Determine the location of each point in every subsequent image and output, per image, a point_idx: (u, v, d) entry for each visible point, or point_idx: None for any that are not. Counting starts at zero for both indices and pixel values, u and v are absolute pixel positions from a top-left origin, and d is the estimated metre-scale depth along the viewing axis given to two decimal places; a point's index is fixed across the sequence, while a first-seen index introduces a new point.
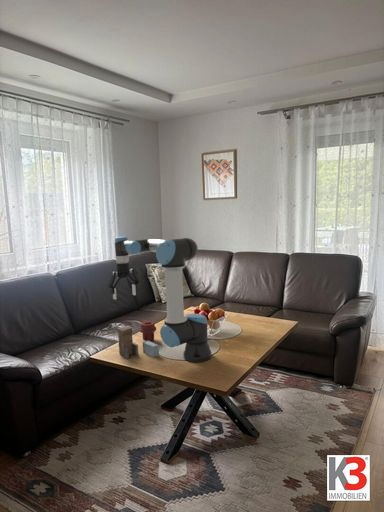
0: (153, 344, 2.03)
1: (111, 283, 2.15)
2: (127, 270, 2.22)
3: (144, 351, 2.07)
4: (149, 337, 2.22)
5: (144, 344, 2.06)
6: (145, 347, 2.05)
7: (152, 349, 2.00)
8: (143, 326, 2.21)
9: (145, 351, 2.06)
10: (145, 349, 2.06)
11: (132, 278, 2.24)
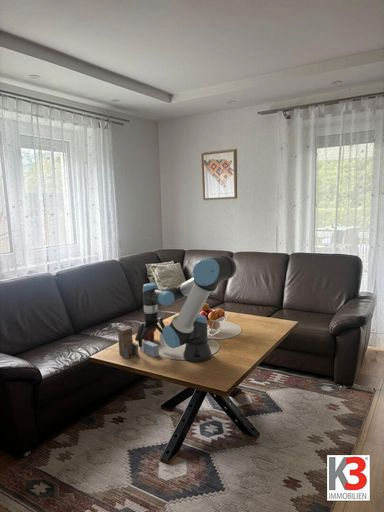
0: (153, 344, 2.03)
1: (139, 336, 1.95)
2: (155, 320, 2.02)
3: (144, 351, 2.07)
4: (149, 337, 2.22)
5: (144, 344, 2.06)
6: (145, 347, 2.05)
7: (152, 349, 2.00)
8: None
9: (145, 351, 2.06)
10: (145, 349, 2.06)
11: (160, 328, 2.05)
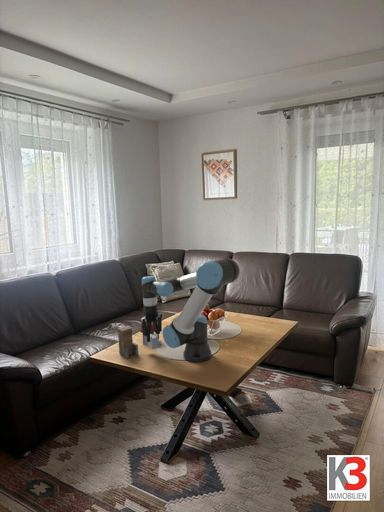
0: (153, 336, 2.02)
1: (145, 331, 1.97)
2: (156, 312, 2.01)
3: (144, 343, 2.06)
4: None
5: (144, 336, 2.05)
6: (145, 339, 2.05)
7: (152, 341, 1.99)
8: None
9: (145, 343, 2.05)
10: (145, 341, 2.05)
11: (157, 325, 2.02)
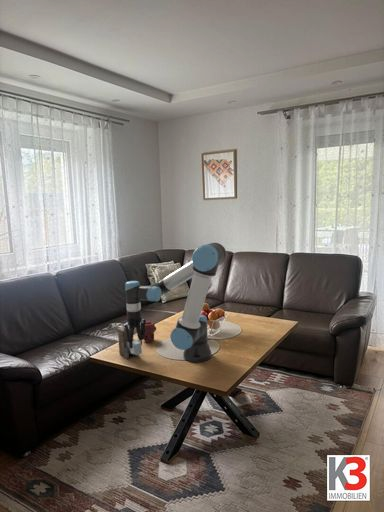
0: (136, 342, 1.98)
1: (127, 337, 1.93)
2: (139, 318, 1.97)
3: None
4: (149, 337, 2.22)
5: None
6: (128, 345, 2.01)
7: (135, 347, 1.95)
8: None
9: (128, 349, 2.01)
10: (128, 347, 2.01)
11: (140, 331, 1.98)
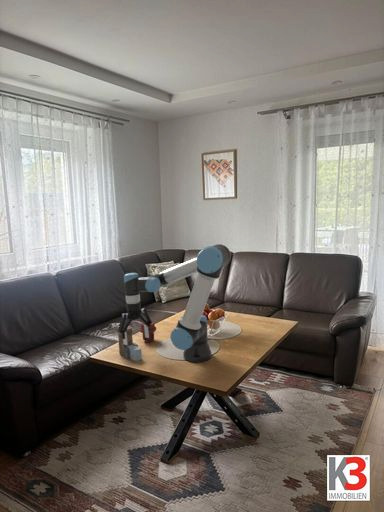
0: (136, 348, 1.98)
1: (121, 327, 1.89)
2: (138, 310, 1.96)
3: None
4: (149, 337, 2.22)
5: None
6: (128, 351, 2.01)
7: (135, 353, 1.95)
8: (143, 326, 2.21)
9: None
10: None
11: (144, 319, 1.99)
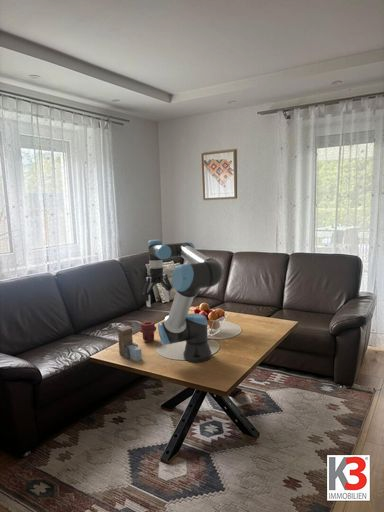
0: (136, 348, 1.98)
1: (145, 289, 2.01)
2: (161, 275, 2.08)
3: None
4: (149, 337, 2.22)
5: None
6: (128, 351, 2.01)
7: (135, 353, 1.95)
8: (143, 326, 2.21)
9: None
10: None
11: (165, 284, 2.11)
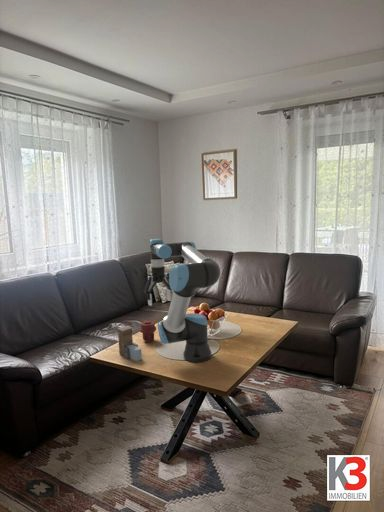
0: (136, 348, 1.98)
1: (147, 288, 2.02)
2: (162, 274, 2.09)
3: None
4: (149, 337, 2.22)
5: None
6: (128, 351, 2.01)
7: (135, 353, 1.95)
8: (143, 326, 2.21)
9: None
10: None
11: (167, 283, 2.12)
